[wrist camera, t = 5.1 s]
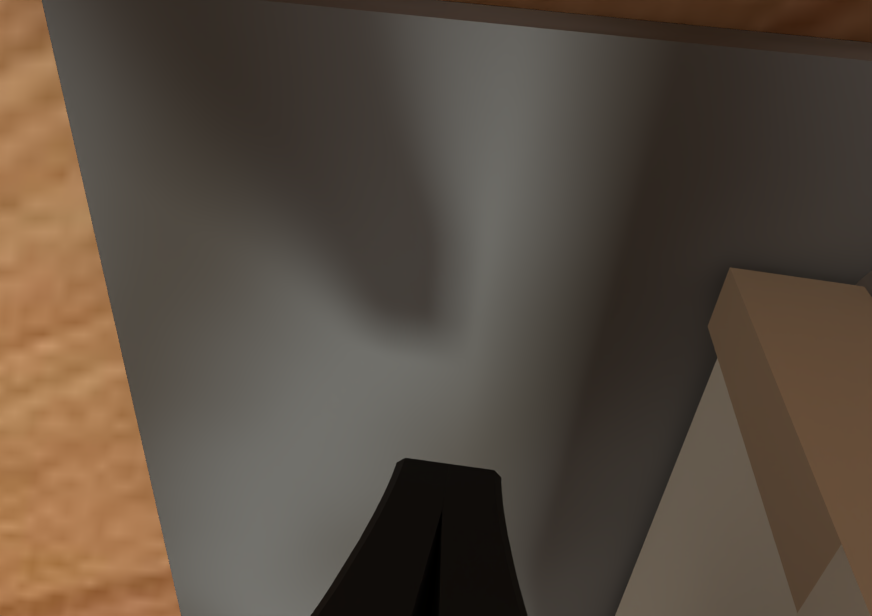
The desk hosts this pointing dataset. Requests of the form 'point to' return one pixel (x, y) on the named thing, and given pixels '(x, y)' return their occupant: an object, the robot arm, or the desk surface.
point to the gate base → (438, 260)
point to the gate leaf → (771, 463)
